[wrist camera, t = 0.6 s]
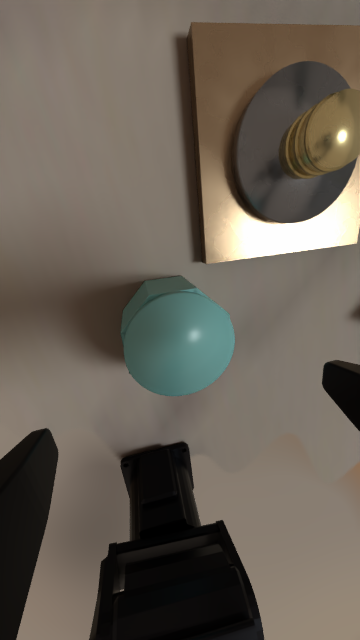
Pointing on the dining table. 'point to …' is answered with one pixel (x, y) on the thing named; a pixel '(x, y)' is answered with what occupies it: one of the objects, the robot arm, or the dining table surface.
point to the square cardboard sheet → (275, 137)
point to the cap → (175, 337)
